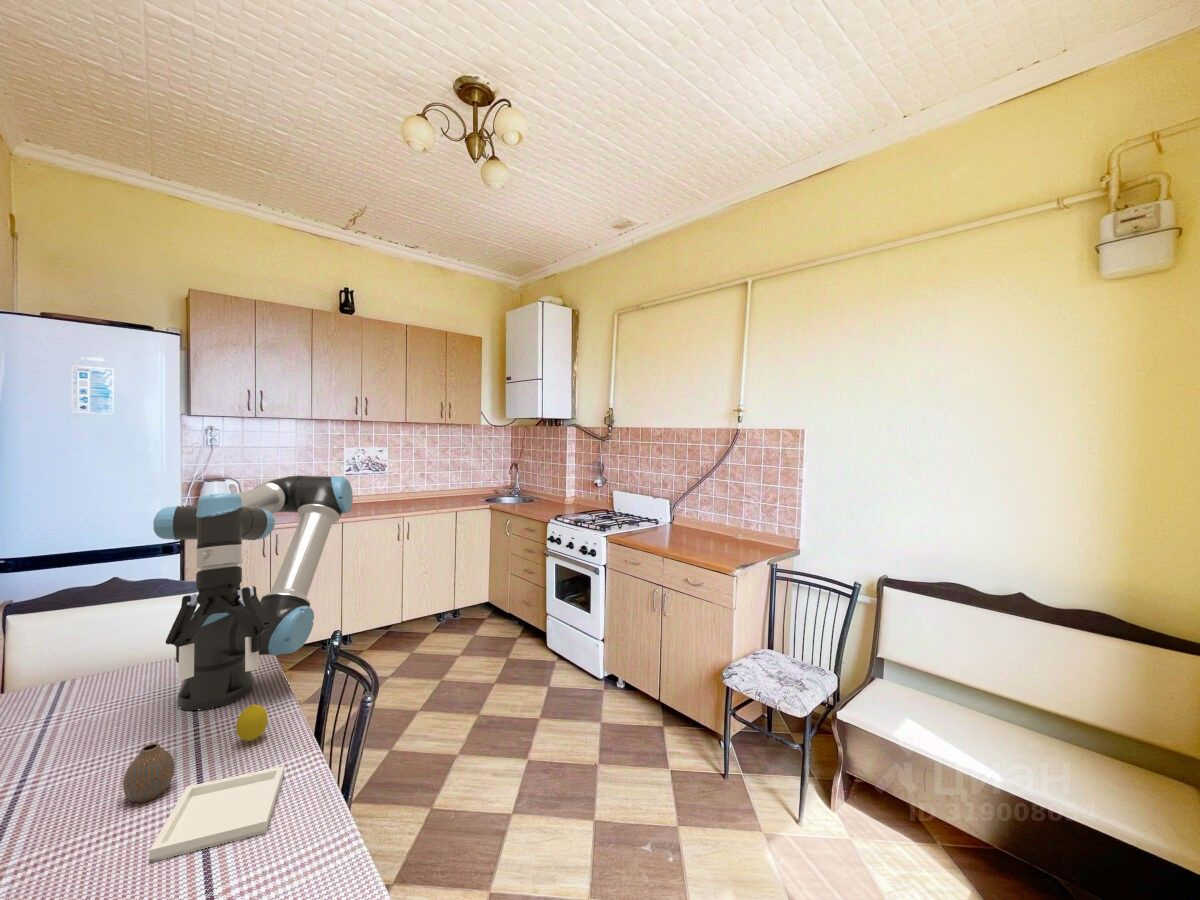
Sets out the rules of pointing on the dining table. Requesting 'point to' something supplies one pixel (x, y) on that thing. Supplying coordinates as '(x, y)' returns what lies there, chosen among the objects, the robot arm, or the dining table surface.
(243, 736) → the lemon
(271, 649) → the robot arm
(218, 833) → the holder tray
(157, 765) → the vase
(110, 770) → the dining table surface
